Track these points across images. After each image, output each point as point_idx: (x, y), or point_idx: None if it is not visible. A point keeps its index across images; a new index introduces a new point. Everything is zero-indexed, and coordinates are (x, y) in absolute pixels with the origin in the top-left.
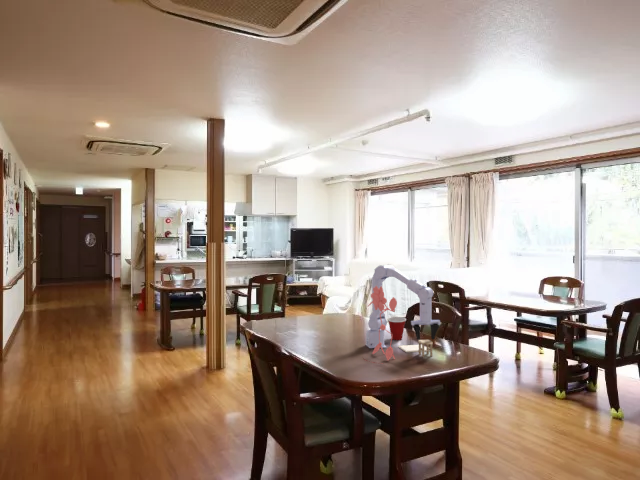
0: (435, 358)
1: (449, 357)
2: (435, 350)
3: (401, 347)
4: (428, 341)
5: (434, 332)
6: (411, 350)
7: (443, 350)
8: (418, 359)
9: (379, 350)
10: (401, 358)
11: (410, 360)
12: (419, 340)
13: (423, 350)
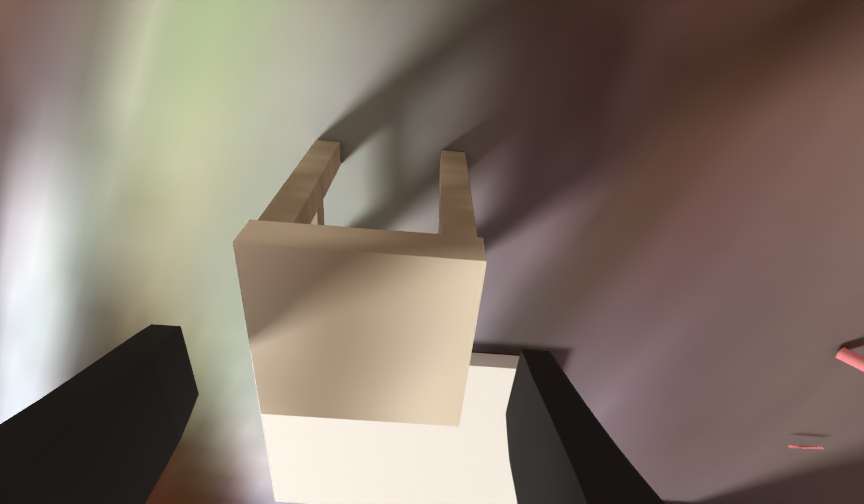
0: (316, 11)
1: (58, 6)
2: None
3: None
4: (312, 305)
5: (7, 465)
6: (487, 372)
7: (82, 335)
8: (615, 29)
9: (796, 447)
10: (806, 150)
11: (777, 6)
12: (457, 402)
13: (457, 188)
